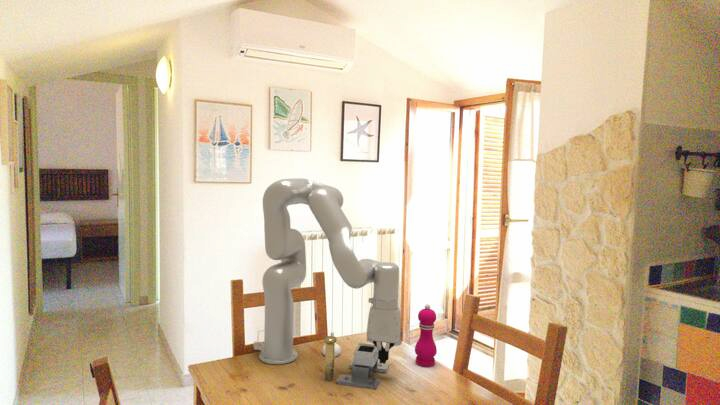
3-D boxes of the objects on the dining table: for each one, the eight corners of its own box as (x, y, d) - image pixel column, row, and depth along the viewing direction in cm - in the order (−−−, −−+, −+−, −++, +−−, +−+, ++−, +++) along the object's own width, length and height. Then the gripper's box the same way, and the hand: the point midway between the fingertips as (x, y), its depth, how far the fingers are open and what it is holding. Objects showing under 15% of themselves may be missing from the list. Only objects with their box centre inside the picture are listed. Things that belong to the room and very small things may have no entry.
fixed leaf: (336, 383, 146) (336, 370, 145) (346, 368, 157) (346, 356, 156) (376, 389, 143) (376, 376, 143) (383, 373, 154) (383, 361, 154)
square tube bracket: (344, 376, 151) (344, 350, 150) (353, 361, 162) (353, 337, 161) (382, 381, 148) (383, 355, 147) (388, 366, 159) (389, 341, 158)
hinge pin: (321, 381, 147) (322, 339, 146) (325, 375, 151) (326, 335, 150) (333, 382, 146) (334, 341, 145) (336, 377, 150) (338, 336, 149)
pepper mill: (435, 368, 159) (438, 308, 157) (413, 366, 160) (415, 306, 159) (436, 360, 166) (439, 302, 164) (415, 357, 167) (417, 300, 166)
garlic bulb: (330, 360, 164) (332, 338, 163) (318, 353, 168) (320, 331, 167) (343, 355, 168) (346, 333, 167) (331, 349, 173) (333, 327, 172)
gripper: (358, 304, 147) (356, 363, 149) (408, 309, 144) (405, 369, 145) (364, 298, 154) (362, 354, 156) (411, 302, 151) (409, 360, 153)
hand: (383, 361), depth 151 cm, fingers closed
